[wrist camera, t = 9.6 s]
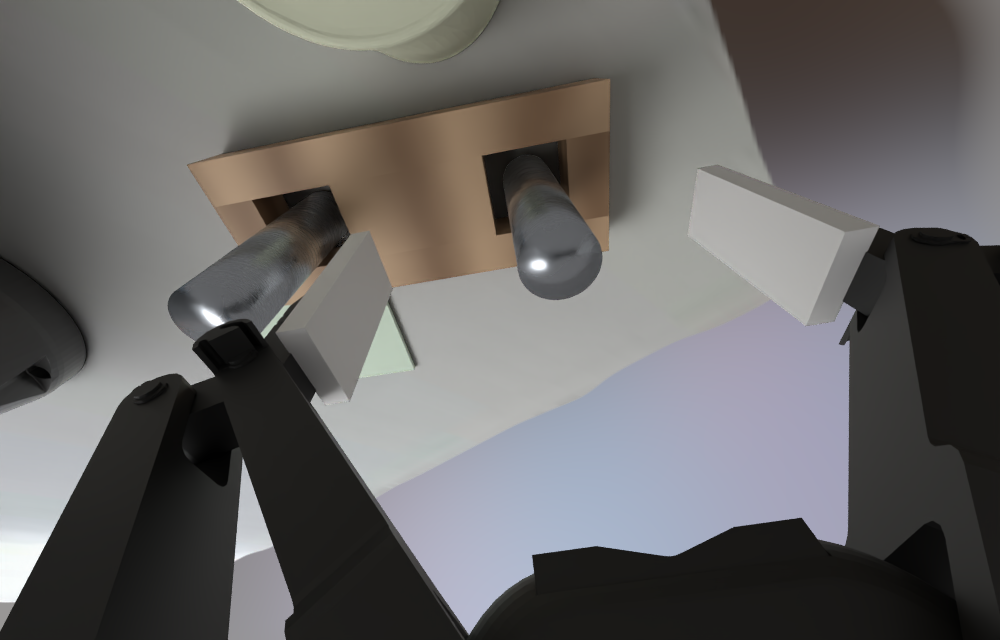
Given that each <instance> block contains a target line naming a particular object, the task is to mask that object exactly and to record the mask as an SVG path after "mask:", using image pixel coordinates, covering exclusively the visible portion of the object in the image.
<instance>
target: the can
mask: <svg viewBox="0 0 1000 640" xmlns="http://www.w3.org/2000/svg"><path fill="white" fill-rule="evenodd" d="M237 1H238V2H239V3H241V4H242V5H244V6H245V7H246V8H248V9H249V10H251V11H252V12H253V13H255V14H256V15H258V16H259V17H261V18H263V19H264V20H266V21H267V22H269V23H271V24H272V25H274V26H276V27H278V28H280V29H282V30H284V31H286V32H288V33H290V34H292V35H295V36H297V37H300V38H302V39H304V40H307V41H309V42H313V43H316V44H319V45H323V46H327V47H332V48H337V49H344V50H358V51H366V50H374V51H379V52H382V53H384V54H385V55H387V56H390V57H392V58H395V59H398V60H401V61H405V62H410V63H421V64H425V63H434V62H439V61H442V60H445V59H448V58H450V57H453V56H455V55H457V54H458V53H460V52H461V51H463V50H464V49H466V48H467V47H468V46H469V45H470V44H471V43H473V42H474V41H475V40H476V39H477V37H478V36H479V35H480V34H481V33H482V31H483V30H484V29H485V27H486V26H487V25H488V23H489V21H490V20H491V18H492V16H493V14H494V12H495V10H496V8H497V5H498V3H499V1H500V0H237Z"/></svg>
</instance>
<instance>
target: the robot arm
mask: <svg viewBox="0 0 1000 640" xmlns="http://www.w3.org/2000/svg"><path fill="white" fill-rule="evenodd" d="M688 236H689V237H690V238H691V239H693V240H694V241H695V242H697V243H698V244H699V245H701V246H702V247H703V248H705V249H706V250H707V251H708V252H710V253H711V254H712V255H714V256H715V257H716V258H718V259H719V260H720V261H722V262H723V263H724V264H725V265H727V266H728V267H729V268H731V269H732V270H733V271H735V272H736V273H737V274H739V275H740V276H741V277H742V278H744V279H745V280H746V281H748V282H749V283H750V284H752V285H753V286H754V287H755V288H757V289H758V290H759V291H761V292H762V293H763V294H765V295H766V296H767V297H769V298H770V299H771V300H772V301H774V302H775V303H776V304H778V305H779V306H780V307H782V308H783V309H784V310H786V311H787V312H788V313H789V314H791V315H792V316H794V317H795V318H796V319H797V320H799V321H800V322H801V323H803V324H804V325H805V326H810V325H816V324H822V323H828V322H833V321H835V319H836V317H837V315H838V313H839V311H840V308H841V306H842V304H843V302H845V303H846V304H848V305H850V306H851V307H853V308H855V309H856V311H855V313H854V315H853V317H852V319H851V321H850V323H849V325H848V327H847V329H846V331H845V333H844V335H843V337H842V339H841V341H840V343H839V344H840V345H845V343H846V342H847V341H849V340H850V355H849V357H850V358H849V365H850V366H849V368H850V369H849V492H848V506H849V507H848V536H847V540H846V545H845V546H842V545H839V544H835V543H831V542H827V541H822V540H818V539H817V538H816V537H815V535H814V534H813V533H812V531H811V530H810V528H809V527H808V526H807V524H806V523H805V522H804V520H803V519H802V518H797V519H789V520H782V521H775V522H768V523H761V524H754V525H746V526H739V527H733V528H731V529H729V530H727V531H725V532H723V533H721V534H719V535H717V536H715V537H713V538H711V539H709V540H707V541H705V542H703V543H701V544H699V545H697V546H695V547H693V548H691V549H689V550H687V551H685V552H683V553H681V554H678V555H676V556H660V555H653V554H646V553H639V552H632V551H625V550H619V549H612V548H604V547H598V546H594V547H588V548H581V549H573V550H565V551H558V552H551V553H544V554H536V555H532V558H533V567H534V574H532V575H530V576H528V577H526V578H524V579H522V580H521V581H519V582H518V583H516V584H515V585H513V586H512V587H511V588H509V589H508V590H506V591H505V592H504V593H503V594H502V595H501V596H500V597H499V598H498V599H496V600H495V601H494V602H493V604H492V605H491V606H490V607H489V609H487V611H486V612H485V613H484V614H483V615H482V617H481V618H480V620H479V621H478V623H477V624H476V625H475V627H474V629H473V630H472V632H471V633H470V635H469V634H468V633H467V631H466V630H465V628H464V627H463V626H462V624H461V623H460V621H459V620H458V618H457V617H456V615H455V614H454V613H453V611H452V610H451V609H450V607H449V605H448V604H447V603H446V601H445V600H444V598H443V597H442V596H441V594H440V593H439V591H438V590H437V588H436V587H435V586H434V584H433V582H432V581H431V579H430V578H429V577H428V575H427V574H426V572H425V571H424V569H423V568H422V566H421V565H420V563H419V562H418V560H417V559H416V557H415V556H414V554H413V553H412V552H411V550H410V549H409V547H408V546H407V544H406V543H405V541H404V540H403V538H402V537H401V535H400V534H399V532H398V531H397V529H396V528H395V527H394V525H393V524H392V522H391V521H390V519H389V518H388V516H387V515H386V513H385V512H384V510H383V509H382V507H381V506H380V504H379V503H378V501H377V500H376V498H375V497H374V495H373V494H372V493H371V491H370V490H369V488H368V487H367V485H366V484H365V482H364V481H363V479H362V478H361V476H360V475H359V473H358V472H357V470H356V469H355V467H354V466H353V465H352V463H351V462H350V460H349V459H348V457H347V456H346V454H345V453H344V451H343V450H342V448H341V447H340V445H339V444H338V442H337V441H336V439H335V438H334V437H333V435H332V434H331V432H330V431H329V429H328V428H327V426H326V425H325V423H324V422H323V420H322V419H321V417H320V416H319V414H318V413H317V411H316V410H315V409H314V407H313V406H312V404H311V403H310V402H311V400H312V398H313V396H314V394H315V392H316V393H317V394H318V396H319V397H320V399H321V400H322V402H323V403H324V405H330V404H336V403H342V402H348V401H350V400H351V397H352V394H353V392H354V389H355V386H356V384H357V381H358V379H359V376H360V373H361V371H362V368H363V365H364V363H365V360H366V358H367V355H368V352H369V350H370V347H371V344H372V342H373V339H374V337H375V334H376V331H377V329H378V326H379V323H380V321H381V318H382V316H383V313H384V310H385V308H386V305H387V302H388V300H389V297H390V295H391V292H392V289H393V288H392V286H391V283H390V281H389V278H388V276H387V273H386V271H385V268H384V266H383V263H382V261H381V258H380V256H379V253H378V251H377V248H376V246H375V243H374V241H373V238H372V236H371V233H370V231H365V232H360V233H354V234H351V235H350V236H349V238H348V239H347V240H346V241H345V243H344V244H343V245H342V247H341V248H340V249H339V251H338V252H337V253H336V255H335V256H334V257H333V258H332V260H331V261H330V262H329V264H328V265H327V266H326V268H325V269H324V270H323V271H322V273H321V274H320V275H319V277H318V278H317V279H316V281H315V282H314V283H313V284H312V286H311V287H310V288H309V290H308V291H307V292H306V294H305V295H304V296H303V297H301V298H300V299H298V300H297V301H296V302H294V303H293V304H292V305H290V307H289V308H288V309H287V310H286V312H285V313H284V314H283V317H281V318H280V319H279V320H278V322H277V324H276V325H274V327H273V328H272V329H271V330H270V332H269V333H268V334H267V336H266V337H265V338H263V336H262V335H261V333H260V332H259V331H258V329H257V328H256V326H255V325H254V324H253V322H252V321H251V320H249V319H237V320H233V321H229V322H226V323H224V324H221V325H219V326H217V327H215V328H213V329H211V330H209V331H208V332H206V333H205V334H203V335H202V336H201V337H199V338H198V339H197V341H196V342H195V343H194V344H193V347H192V350H193V351H194V352H195V353H196V354H197V355H198V356H199V358H200V359H201V360H202V361H203V362H204V363H205V364H206V365H207V367H208V368H209V369H210V370H211V371H212V372H213V373H214V375H215V377H213V378H210V379H207V380H205V381H202V382H199V383H196V384H194V385H190V384H189V383H188V382H187V381H186V380H185V379H184V378H183V377H182V376H181V375H179V374H168V375H164V376H161V377H158V378H156V379H154V380H151V381H147V382H145V383H143V384H141V386H138V387H137V388H135V389H134V390H133V391H132V392H131V393H130V394H129V395H128V396H127V397H125V398H124V399H123V401H122V402H121V403H120V405H119V406H118V408H117V410H116V411H115V413H114V415H113V417H112V419H111V421H110V423H109V425H108V427H107V429H106V431H105V432H104V434H103V436H102V438H101V440H100V442H99V444H98V446H97V448H96V450H95V452H94V453H93V455H92V457H91V459H90V461H89V463H88V465H87V467H86V469H85V471H84V473H83V474H82V476H81V478H80V480H79V482H78V484H77V486H76V488H75V490H74V492H73V494H72V495H71V497H70V499H69V501H68V503H67V505H66V507H65V509H64V511H63V513H62V515H61V516H60V518H59V520H58V522H57V524H56V526H55V528H54V530H53V532H52V534H51V536H50V537H49V539H48V541H47V543H46V545H45V547H44V549H43V551H42V553H41V555H40V557H39V558H38V560H37V562H36V564H35V566H34V568H33V570H32V572H31V574H30V576H29V577H28V579H27V581H26V583H25V585H24V587H23V589H22V591H21V593H20V595H19V597H18V598H17V600H16V602H15V604H14V606H13V608H12V610H11V612H10V614H9V616H8V618H7V620H6V622H5V623H4V625H3V627H2V629H1V631H0V640H228V630H229V618H230V606H231V594H232V582H233V581H232V580H233V569H234V557H235V545H236V533H237V521H238V508H239V496H240V484H241V472H242V459H244V462H245V465H246V468H247V470H248V473H249V476H250V479H251V482H252V485H253V488H254V491H255V494H256V497H257V499H258V502H259V505H260V508H261V511H262V514H263V517H264V520H265V523H266V526H267V528H268V531H269V534H270V537H271V540H272V543H273V546H274V549H275V552H276V554H277V557H278V560H279V563H280V566H281V569H282V572H283V574H284V578H285V581H286V584H287V586H288V589H289V592H290V595H291V598H292V601H293V606H294V613H293V614H292V615H291V616H290V617H289V618H288V619H287V620H286V621H285V637H286V640H1000V245H994V246H979V244H978V242H977V241H975V240H974V239H973V238H972V237H970V236H968V235H966V234H962V233H958V232H954V231H950V230H947V229H942V228H910V229H903V230H900V231H897V232H895V233H892V232H890V231H887V230H884V229H882V228H879V226H878V225H875V224H873V223H870V222H868V221H865V220H862V219H860V218H857V217H854V216H851V215H849V214H847V213H844V212H841V211H838V210H836V209H833V208H831V207H828V206H825V205H823V204H820V203H817V202H815V201H812V200H810V199H807V198H804V197H802V196H799V195H796V194H793V193H791V192H788V191H786V190H783V189H781V188H778V187H775V186H773V185H770V184H767V183H765V182H762V181H759V180H757V179H754V178H751V177H749V176H746V175H744V174H741V173H738V172H736V171H733V170H730V169H728V168H725V167H722V166H720V165H713V166H708V167H703V168H698V169H697V176H696V182H695V189H694V196H693V203H692V209H691V216H690V223H689V230H688ZM85 358H86V348H85V343H84V340H83V338H82V335H81V333H80V331H79V329H78V327H77V326H76V324H75V323H74V321H73V320H72V318H71V317H70V316H69V314H68V313H67V312H66V311H65V309H64V308H63V307H62V306H61V305H60V304H59V303H58V302H57V301H56V300H55V299H54V298H53V297H52V296H51V295H50V294H49V293H48V292H46V291H45V290H44V289H43V288H42V287H41V286H39V285H38V284H37V283H36V282H34V281H33V280H32V279H31V278H29V277H28V276H27V275H25V274H24V273H22V272H21V271H19V270H18V269H16V268H15V267H13V266H12V265H10V264H9V263H7V262H6V261H4V260H2V259H1V258H0V414H2V413H5V412H7V411H10V410H12V409H15V408H17V407H20V406H22V405H25V404H27V403H30V402H32V401H35V400H37V399H40V398H42V397H44V396H46V395H47V394H49V393H51V392H52V391H54V390H55V389H57V388H58V387H59V386H61V385H62V384H63V383H65V382H66V381H68V380H69V379H70V378H72V377H73V376H74V375H76V374H77V373H78V372H79V371H80V370H81V368H82V367H83V365H84V362H85Z"/></svg>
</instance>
